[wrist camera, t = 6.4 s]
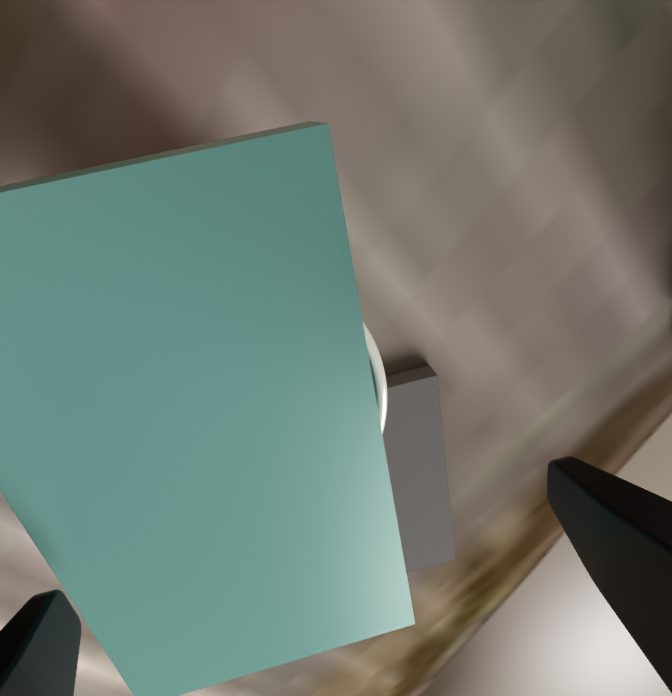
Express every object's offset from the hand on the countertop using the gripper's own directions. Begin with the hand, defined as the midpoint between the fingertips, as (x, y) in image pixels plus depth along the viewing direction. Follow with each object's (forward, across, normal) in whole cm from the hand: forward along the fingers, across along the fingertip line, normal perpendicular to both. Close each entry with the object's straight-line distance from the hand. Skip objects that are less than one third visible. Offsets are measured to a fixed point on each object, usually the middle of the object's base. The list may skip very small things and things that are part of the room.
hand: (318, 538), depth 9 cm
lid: (+3, +2, -1) cm, 3 cm away
